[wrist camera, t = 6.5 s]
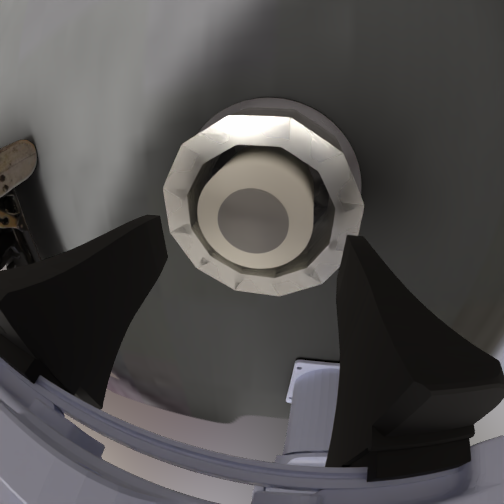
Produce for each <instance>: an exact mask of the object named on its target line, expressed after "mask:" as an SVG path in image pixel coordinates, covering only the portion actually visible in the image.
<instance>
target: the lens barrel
mask: <svg viewBox="0 0 504 504" xmlns="http://www.w3.org/2000/svg"><path fill="white" fill-rule="evenodd" d="M249 145H258V146H275V147H282V148H284V149H285V150H287V151H288V152H290V153H291V154H293V155H294V156H296V157H298V158H299V159H301V160H302V161H304V162H305V163H306V164H307V166H308V167H309V169H310V171H311V174H312V177H313V183H314V215H313V230H312V235H311V237H310V240H309V242H308V244H307V246H306V247H305V249H304V250H303V251H302V252H301V253H300V254H299V255H298V256H297V257H296V258H294V259H293V260H292V261H290V262H288V263H286V264H283V265H281V266H278V267H274V268H267V269H257V268H249V267H245V266H241V265H238V264H236V263H233V262H231V261H229V260H227V259H226V258H224V257H223V256H221V255H220V254H219V253H218V252H216V251H215V250H214V249H213V248H212V247H211V245H210V244H209V243H208V242H207V240H206V238H205V237H204V235H203V233H202V231H201V229H200V225H199V222H198V216H197V207H198V201H199V197H200V195H201V192H202V190H203V189H204V187H205V185H206V184H207V183H208V182H209V180H210V179H211V178H212V177H213V176H214V175H215V174H216V173H217V172H218V171H219V170H220V169H221V168H222V167H223V166H224V165H225V164H226V163H227V162H228V161H229V160H230V159H231V158H232V157H233V156H234V155H235V154H236V153H237V152H239V151H240V150H241V149H243V148H245V147H247V146H249ZM163 191H164V198H165V205H166V211H167V217H168V223H169V229H170V233H171V234H172V235H173V237H174V238H175V240H176V241H177V242H178V244H179V245H180V246H181V248H182V249H183V250H184V252H185V253H186V255H187V256H188V257H189V259H190V260H191V261H192V263H193V264H194V265H195V267H196V268H198V269H199V270H201V271H203V272H204V273H206V274H208V275H210V276H211V277H213V278H215V279H217V280H218V281H220V282H222V283H223V284H225V285H227V286H229V287H230V288H232V289H234V290H237V291H244V292H251V293H259V294H266V295H274V296H282V295H286V294H289V293H293V292H296V291H300V290H303V289H307V288H310V287H314V286H317V285H320V284H322V283H324V282H325V281H326V280H327V279H328V278H329V277H330V276H331V275H332V274H333V273H334V272H335V271H336V270H337V269H338V268H339V267H340V264H341V259H342V255H343V250H344V246H345V241H346V236H347V235H355V236H358V233H359V229H360V224H361V220H362V215H363V210H364V203H363V200H362V197H361V174H360V168H359V164H358V161H357V158H356V155H355V153H354V151H353V149H352V147H351V145H350V143H349V141H348V140H347V138H346V137H345V136H344V134H343V133H342V131H341V130H340V129H339V128H338V127H337V126H336V125H335V124H334V123H333V122H332V121H331V120H330V119H329V118H327V117H326V116H325V115H323V114H322V113H321V112H319V111H317V110H315V109H314V108H312V107H310V106H308V105H305V104H303V103H300V102H297V101H293V100H289V99H285V98H276V97H265V98H256V99H250V100H246V101H243V102H240V103H237V104H234V105H232V106H230V107H228V108H226V109H224V110H222V111H221V112H219V113H218V114H216V115H215V116H213V117H212V118H211V119H210V120H209V121H208V122H207V123H206V124H205V125H204V126H203V127H202V129H201V130H200V131H199V132H198V134H197V135H196V136H194V137H192V138H191V139H189V140H188V141H186V142H185V143H183V144H182V145H181V147H180V150H179V152H178V154H177V156H176V158H175V161H174V163H173V165H172V168H171V170H170V172H169V175H168V177H167V180H166V182H165V184H164V187H163Z"/></svg>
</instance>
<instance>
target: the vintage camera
mask: <svg viewBox="0 0 504 504" xmlns="http://www.w3.org/2000/svg"><path fill="white" fill-rule="evenodd" d="M36 163H37V154H36V150H35V147H34V144H32V143H31V142H29V141H28V140H18V141H16V142H14V143H12V144H9V145H7V146H5V147H3V148H1V149H0V270H1V269H2V268H3V267H4V266H5V265H6V266H7V269H13V268H17V267H21V266H25V265H29V264H32V263H36V262H39V261H42V260H41V258H40V255H39V253H38V250H37V248H36V245H35V243H34V241H33V238H32V236H31V234H30V231H29V229H28V226H27V224H26V221H25V218H24V215H23V212H22V209H21V206H20V203H19V200H18V197H17V194H16V192H15V189H14V187H16V186H17V185H19V184H20V183H22V182H23V181H25V180H26V179H28V178H29V176H30V175H31V174H32V173H33V171H34V169H35V167H36Z"/></svg>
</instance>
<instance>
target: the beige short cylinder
mask: <svg viewBox="0 0 504 504" xmlns="http://www.w3.org/2000/svg"><path fill="white" fill-rule="evenodd" d="M313 215H314V183H313V177H312V174H311V171H310V169H309V167H308V166H307V164H306V163H305V162H304V161H302V160H301V159H299V158H298V157H296V156H294V155H293V154H291V153H290V152H288V151H287V150H285V149H284V148H282V147H275V146H258V145H249V146H247V147H245V148H243V149H241V150H240V151H239V152H237V153H236V154H235V155H234V156H233V157H232V158H231V159H230V160H229V161H228V162H227V163H226V164H225V165H224V166H223V167H222V168H221V169H220V170H219V171H218V172H217V173H216V174H215V175H214V176H213V177H212V178H211V179H210V180H209V182H208V183H207V184H206V185H205V187H204V189H203V190H202V192H201V195H200V197H199V201H198V207H197V216H198V222H199V225H200V229H201V231H202V233H203V235H204V237H205V238H206V240H207V242H208V243H209V244H210V245H211V247H212V248H213V249H214V250H215V251H216V252H218V253H219V254H220V255H221V256H223V257H224V258H226V259H227V260H229V261H231V262H233V263H236V264H238V265H241V266H245V267H249V268H257V269H267V268H274V267H278V266H281V265H283V264H286V263H288V262H290V261H292V260H293V259H294V258H296V257H297V256H298V255H299V254H300V253H301V252H302V251H303V250H304V249H305V247H306V246H307V244H308V242H309V240H310V237H311V235H312V230H313Z"/></svg>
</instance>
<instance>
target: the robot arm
mask: <svg viewBox="0 0 504 504" xmlns="http://www.w3.org/2000/svg"><path fill="white" fill-rule="evenodd" d="M167 258H168V255H167V250H166V245H165V240H164V235H163V230H162V225H161V219H160V216H157V215H145V216H142V217H139V218H137V219H135V220H132V221H130V222H128V223H126V224H124V225H122V226H120V227H118V228H116V229H113V230H111V231H109V232H107V233H106V234H104V235H101V236H99V237H97V238H95V239H93V240H91V241H89V242H87V243H85V244H83V245H81V246H78V247H76V248H74V249H72V250H69V251H67V252H64V253H62V254H59V255H56V256H54V257H51V258H48V259H45V260H42V261H39V262H36V263H32V264H29V265H25V266H21V267H17V268H13V269H7V270H2V271H0V504H219V503H215V502H210V501H207V500H203V499H199V498H196V497H192V496H189V495H186V494H183V493H180V492H177V491H174V490H171V489H168V488H165V487H162V486H160V485H157V484H155V483H152V482H150V481H147V480H145V479H143V478H140V477H138V476H136V475H133V474H131V473H129V472H127V471H125V470H123V469H120V468H118V467H116V466H114V465H112V464H110V463H109V462H107V461H105V460H103V459H102V457H101V455H102V453H103V451H104V448H105V447H104V445H103V444H101V443H100V442H98V441H97V440H95V439H94V438H92V437H91V436H89V435H88V434H86V433H85V432H83V431H82V430H81V429H79V428H78V427H77V426H76V425H74V424H73V423H72V422H70V421H69V420H68V419H66V418H65V417H64V413H65V414H66V415H68V416H70V417H71V418H73V419H75V420H76V421H78V422H80V423H81V424H83V425H85V426H87V427H88V428H90V429H92V430H94V431H96V432H98V433H99V434H101V435H103V436H105V437H107V438H109V439H111V440H114V441H116V442H117V443H120V444H122V445H124V446H126V447H128V448H131V449H133V450H135V451H138V452H140V453H142V454H145V455H147V456H150V457H152V458H155V459H158V460H160V461H163V462H166V463H169V464H172V465H174V466H177V467H180V468H184V469H187V470H190V471H194V472H197V473H201V474H204V475H208V476H212V477H216V478H220V479H224V480H229V481H233V482H238V483H244V484H249V485H254V489H253V495H252V502H251V504H504V436H499V437H496V438H493V439H489V440H486V441H483V442H480V443H477V444H475V445H473V446H470V442H469V438H471V437H473V436H474V434H475V430H474V424H475V423H476V422H477V421H479V420H480V419H481V418H482V417H484V416H485V415H486V414H488V413H489V412H490V411H491V410H493V409H494V408H495V407H496V406H497V405H498V404H499V403H500V402H501V401H502V399H503V398H504V374H503V371H502V368H501V364H500V362H499V361H498V360H497V359H495V358H494V357H492V356H490V355H489V354H487V353H486V352H484V351H482V350H481V349H479V348H477V347H476V346H474V345H473V344H471V343H470V342H469V341H467V340H466V339H464V338H463V337H462V336H460V335H459V334H457V333H456V332H455V331H454V330H452V329H451V328H450V327H448V326H447V325H446V324H445V323H444V322H442V321H441V320H440V319H439V318H438V317H436V316H435V315H434V314H433V313H432V312H431V311H430V310H428V309H427V308H426V307H425V306H424V305H423V304H422V303H421V302H420V301H419V300H418V299H417V298H416V297H415V296H414V295H413V294H412V293H411V292H410V291H409V290H408V289H407V288H406V287H405V286H404V285H403V284H402V282H401V281H400V280H399V279H398V278H397V277H396V276H395V275H394V273H393V272H392V271H391V270H390V269H389V268H388V266H387V265H386V264H385V263H384V261H383V260H382V259H381V258H380V257H379V255H378V254H377V253H376V252H375V250H374V249H373V248H372V247H371V245H370V244H369V243H368V242H367V240H366V239H365V238H364V237H362V236H355V235H347V236H346V241H345V246H344V250H343V255H342V259H341V264H340V268H339V272H338V277H337V294H336V304H337V317H338V330H339V344H340V363H330V362H319V361H309V360H296V361H295V364H294V368H293V373H292V377H291V381H290V385H289V389H288V393H287V397H286V402H288V403H291V409H290V415H289V422H288V428H287V433H286V440H285V445H284V450H283V455H277V456H276V460H275V462H265V461H258V460H253V459H247V458H241V457H236V456H231V455H227V454H223V453H218V452H214V451H210V450H206V449H203V448H199V447H195V446H192V445H188V444H185V443H182V442H179V441H176V440H173V439H170V438H167V437H164V436H161V435H158V434H155V433H152V432H150V431H147V430H145V429H142V428H140V427H137V426H134V425H132V424H130V423H128V422H125V421H123V420H121V419H118V418H116V417H114V416H112V415H110V414H108V413H106V412H104V411H101V409H102V407H103V401H104V397H105V392H106V388H107V384H108V380H109V377H110V374H111V370H112V367H113V364H114V361H115V358H116V355H117V353H118V350H119V348H120V345H121V342H122V340H123V338H124V336H125V333H126V331H127V329H128V327H129V325H130V323H131V321H132V319H133V317H134V316H135V314H136V312H137V311H138V309H139V308H140V306H141V304H142V303H143V301H144V300H145V298H146V297H147V295H148V293H149V292H150V290H151V289H152V287H153V286H154V284H155V282H156V281H157V279H158V278H159V276H160V274H161V272H162V270H163V267H164V265H165V263H166V261H167Z"/></svg>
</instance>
